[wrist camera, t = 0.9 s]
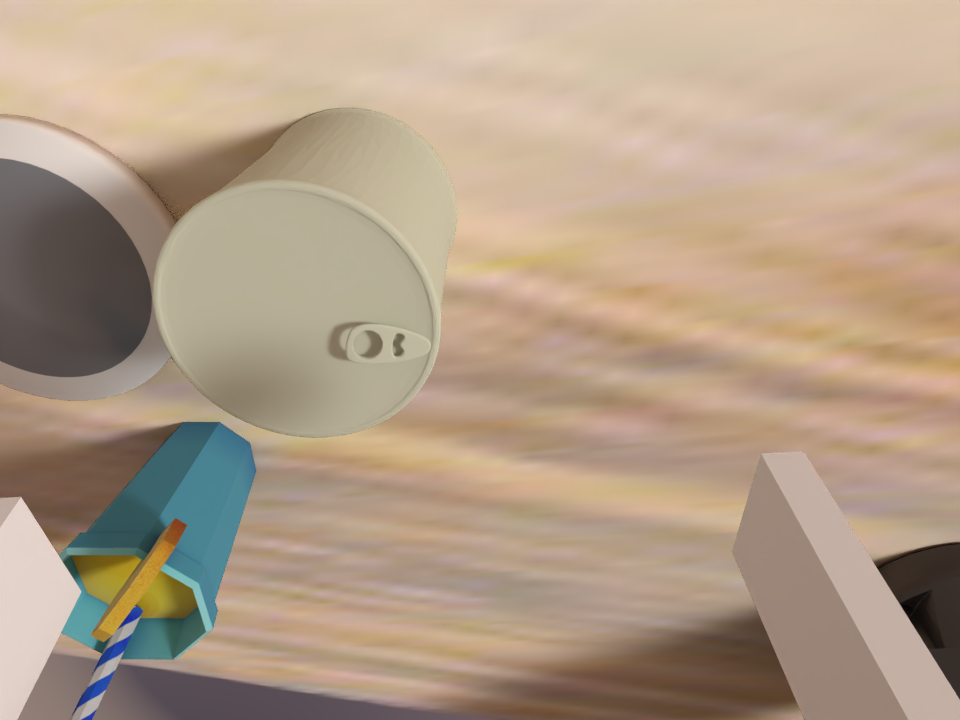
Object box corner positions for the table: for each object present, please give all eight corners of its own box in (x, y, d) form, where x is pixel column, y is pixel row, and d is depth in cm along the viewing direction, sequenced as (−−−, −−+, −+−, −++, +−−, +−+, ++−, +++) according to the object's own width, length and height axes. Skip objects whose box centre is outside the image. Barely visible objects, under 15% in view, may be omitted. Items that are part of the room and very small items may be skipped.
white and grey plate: (228, 377, 36) (217, 393, 34) (-23, 392, 36) (-43, 409, 35) (141, 101, 29) (124, 108, 27) (-168, 126, 29) (-200, 134, 28)
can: (439, 315, 34) (419, 467, 23) (255, 283, 33) (150, 425, 23) (473, 130, 29) (466, 217, 19) (261, 87, 28) (131, 153, 18)
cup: (247, 564, 43) (143, 821, 30) (124, 530, 42) (-41, 783, 29) (302, 397, 36) (200, 633, 23) (158, 349, 35) (-36, 572, 22)
